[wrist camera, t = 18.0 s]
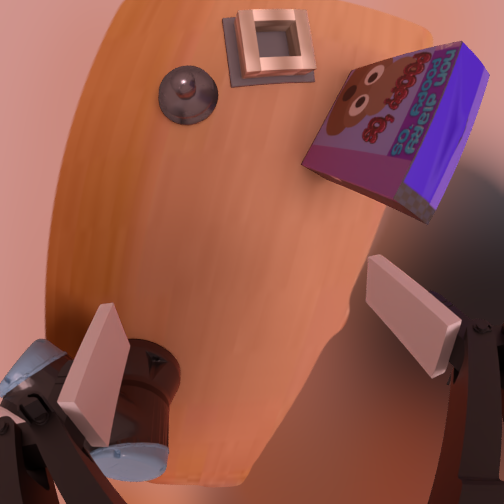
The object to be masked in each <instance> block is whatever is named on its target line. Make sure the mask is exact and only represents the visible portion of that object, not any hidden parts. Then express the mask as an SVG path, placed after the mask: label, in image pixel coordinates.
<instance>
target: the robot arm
mask: <svg viewBox="0 0 504 504" xmlns="http://www.w3.org/2000/svg"><path fill="white" fill-rule="evenodd" d="M366 302H367V303H368V305H369V306H370V307H371V308H372V309H373V310H374V311H375V312H376V314H377V315H378V316H379V317H380V318H381V319H382V320H383V321H384V323H385V324H386V325H387V326H388V327H389V328H390V329H391V330H392V332H393V333H394V334H395V335H396V336H397V338H398V339H399V340H400V341H401V342H402V343H403V344H404V345H405V347H406V348H407V349H408V350H409V352H411V354H412V355H413V356H414V357H415V359H416V360H417V361H418V362H419V363H420V365H422V367H423V368H424V369H425V371H426V372H427V373H428V374H429V375H430V377H431V378H434V377H436V376H438V375H440V374H442V373H444V372H445V371H446V368H447V365H448V363H449V362H450V363H451V364H452V365H453V366H454V367H453V369H452V372H451V374H450V377H449V379H448V382H447V385H449V383H450V381H451V384H450V394H449V403H448V411H447V419H446V425H445V431H444V437H443V443H442V448H441V453H440V458H439V462H438V467H437V471H436V475H435V479H434V483H433V487H432V490H431V494H430V497H429V501H428V504H504V481H501V480H500V479H499V466H500V456H501V437H502V418H503V422H504V323H503V324H502V325H496V326H492V325H491V324H490V323H489V322H487V321H485V320H482V319H473V320H471V319H470V318H468V317H467V316H466V315H465V314H464V313H462V312H461V311H460V310H459V309H458V308H456V307H455V306H453V304H452V303H450V302H449V301H447V300H446V299H445V298H444V297H443V296H442V295H440V294H438V293H436V292H433V291H427V290H425V289H424V288H423V287H422V286H420V285H419V284H418V283H417V282H415V281H414V280H413V279H412V278H410V277H409V276H408V275H407V274H405V273H404V272H403V271H402V270H400V269H399V268H398V267H396V266H395V265H394V264H393V263H391V262H390V261H389V260H387V259H386V258H385V257H383V256H382V255H380V254H379V255H374V256H369V257H368V271H367V290H366ZM179 385H180V367H179V364H178V362H177V361H176V359H175V358H174V357H173V355H172V354H171V353H169V352H168V351H167V350H166V349H164V348H163V347H161V346H159V345H157V344H155V343H152V342H149V341H145V340H138V339H129V340H128V339H127V336H126V334H125V332H124V329H123V327H122V324H121V322H120V319H119V316H118V314H117V311H116V309H115V306H114V303H107V304H101V305H100V306H99V308H98V310H97V312H96V314H95V316H94V318H93V320H92V322H91V324H90V326H89V328H88V330H87V332H86V335H85V337H84V339H83V341H82V343H81V345H80V348H79V350H78V352H77V354H76V357H75V359H73V358H71V357H70V356H69V355H68V354H67V352H65V351H62V350H60V349H59V348H58V347H56V346H55V345H54V344H52V343H51V342H50V341H48V340H46V339H38V340H36V341H35V342H34V343H32V344H31V346H30V347H29V348H28V349H27V350H26V351H25V352H24V353H23V354H22V356H21V357H20V358H19V359H18V360H17V362H16V363H15V364H14V365H13V367H12V368H11V369H10V371H9V372H8V374H7V375H6V376H5V377H4V379H3V380H2V381H1V383H0V397H1V398H3V400H2V402H1V404H0V416H1V417H0V504H59V500H58V497H57V493H56V489H55V485H54V482H55V484H56V486H57V488H58V490H59V491H60V493H61V495H62V497H63V498H64V500H65V502H66V504H127V503H126V502H125V501H124V500H123V498H122V497H121V496H120V495H119V493H118V492H117V491H116V490H115V489H114V487H113V486H112V485H111V483H110V482H109V481H108V479H107V478H106V477H108V478H112V479H116V480H121V481H130V482H132V481H133V482H134V481H135V482H138V481H139V482H140V481H148V480H152V479H155V478H157V477H159V476H161V475H162V474H163V473H164V472H165V470H166V467H167V459H168V454H169V448H168V434H169V405H170V404H171V402H172V400H173V398H174V396H175V394H176V392H177V390H178V388H179ZM53 480H54V481H53Z"/></svg>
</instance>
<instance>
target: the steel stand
mask: <svg viewBox="0 0 504 504" xmlns="http://www.w3.org/2000/svg"><path fill="white" fill-rule="evenodd" d="M217 100H218V90H217V86H216V84H215V82H214V80H213V79H212V78H211V77H210V76H209V75H208V74H207V73H206V72H205V71H204V70H202V69H201V68H198V67H195V66H181V67H178V68H175V69H173V70H172V71H170V72H169V73H168V74H167V75H166V76H165V77H164V79H163V80H162V82H161V84H160V88H159V105H160V108H161V110H162V112H163V113H164V115H165V116H166V117H167V118H169V119H170V120H172V121H173V122H176V123H178V124H183V125H191V124H196V123H199V122H201V121H203V120H204V119H206V118H207V117H208V116H209V115H210V114H211V113H212V112H213V110H214V108H215V106H216V104H217Z"/></svg>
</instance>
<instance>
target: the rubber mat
mask: <svg viewBox="0 0 504 504" xmlns="http://www.w3.org/2000/svg"><path fill="white" fill-rule="evenodd" d="M235 18H236V17H232V18H223V19H222V21H223V28H224V36H225V43H226V51H227V58H228V66H229V73H230V81H231V88H232V87H241V86H251V85H262V84H277V83H298V82H315V77H314V70H313V71H311V72H309V73H308V74H306V75H291V76H271V77H258V78H246V79H242V76H241V69H240V62H239V55H238V47H237V40H236V33H235V26H234V21H235ZM256 36H257V43H258V50H259V57H260V58H262V57H284V56H290V55H289V49H288V43H287V36H286V31H272V32H256Z"/></svg>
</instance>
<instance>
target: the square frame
mask: <svg viewBox="0 0 504 504" xmlns="http://www.w3.org/2000/svg"><path fill="white" fill-rule="evenodd" d="M234 26H235V33H236V40H237V47H238V55H239V62H240V69H241V76H242V79H246V78H258V77H271V76H291V75H306V74H308V73H309V72H311V71H313V70H315V69H317V68H316V61H315V55H314V48H313V42H312V36H311V31H310V25H309V20H308V14H307V10H303V9H253V10H238V12H237V15H236V18H235V21H234ZM272 31H286V36H287V43H288V49H289V55H290V56H284V57H262V58H260V57H259V50H258V43H257V36H256V32H272Z"/></svg>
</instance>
